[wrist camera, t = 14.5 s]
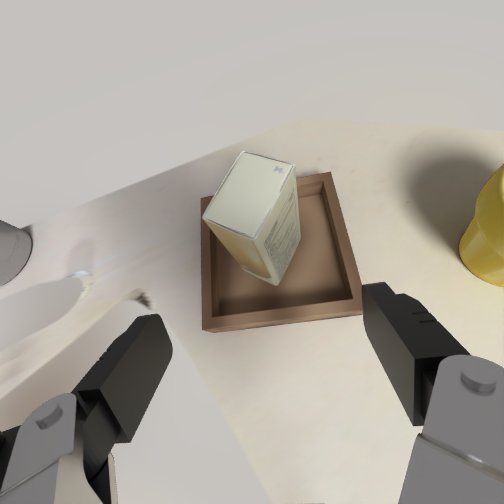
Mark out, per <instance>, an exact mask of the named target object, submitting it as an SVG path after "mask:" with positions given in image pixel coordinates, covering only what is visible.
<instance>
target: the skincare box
mask: <svg viewBox="0 0 504 504" xmlns="http://www.w3.org/2000/svg"><path fill="white" fill-rule="evenodd" d="M202 218H203V220H204V221H205V222H206V223H207V225H208V226H209V227H210V229H211V230H212V231H213V232H214V234H215V235H216V236H217V237H218V239H219V240H220V241H221V242H222V244H223V245H224V246H225V247H226V249H227V250H228V251H229V253H230V254H231V255H232V256H233V257H234V259H235V260H236V261H237V262H238V264H239V265H240V266H241V268H242V269H243V270H244V271H246V272H247V273H249V274H251V275H253V276H255V277H257V278H259V279H262V280H264V281H266V282H268V283H270V284H272V285H275V286H277V285H278V284H279V283H280V281H281V279H282V277H283V275H284V273H285V271H286V269H287V267H288V265H289V263H290V261H291V259H292V257H293V255H294V253H295V250H296V248H297V246H298V244H299V241H300V239H301V234H300V222H299V209H298V196H297V184H296V172H295V165H294V164H293V163H289V162H285V161H282V160H278V159H275V158H271V157H267V156H264V155H260V154H256V153H251V152H247V151H242V152H241V154H240V155H239V157H238V158H237V159H236V161H235V162H234V164H233V165H232V167H231V169H230V170H229V172H228V173H227V175H226V177H225V178H224V180H223V182H222V183H221V185H220V187H219V188H218V190H217V192H216V193H215V195H214V197H213V198H212V200H211V202H210V204H209V205H208V207H207V209H206V211H205V213H204V214H203V216H202Z"/></svg>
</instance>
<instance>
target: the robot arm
mask: <svg viewBox="0 0 504 504" xmlns="http://www.w3.org/2000/svg"><path fill="white" fill-rule="evenodd" d="M30 252H31V238H30V236H29V235H28V233H27V232H25V231H23V230H21V229H19V228H17V227H15V226H12V225H10V224H8V223H6V222H4V221H1V220H0V286H2V285H4V284H5V283H7V282H9V281H10V280H11V279H12V278H14V277H15V276H16V275H17V274H18V273H19V272H20V270H21V269H22V268H23V266H24V265H25V263H26V261H27V260H28V257H29V255H30ZM361 292H362V306H363V321H364V326H365V330H366V333H367V336H368V338H369V340H370V342H371V344H372V346H373V348H374V350H375V352H376V354H377V356H378V358H379V360H380V362H381V364H382V366H383V368H384V370H385V372H386V374H387V376H388V378H389V380H390V382H391V384H392V386H393V387H394V389H395V391H396V393H397V395H398V397H399V399H400V401H401V403H402V405H403V407H404V409H405V411H406V413H407V415H408V417H409V419H410V421H411V423H412V425H413V426H424V427H423V430H422V433H421V434H420V433H418V435H417V437H416V440H415V443H414V446H413V450H412V454H411V457H410V461H409V465H408V469H407V472H406V476H405V480H404V484H403V487H402V491H401V495H400V499H399V502H398V504H504V368H503V367H501V366H499V365H497V364H495V363H494V362H491V361H489V360H486V359H483V358H480V357H476V356H471V355H470V353H469V352H468V351H467V350H466V349H465V348H464V347H463V346H462V345H461V344H460V343H459V342H458V341H457V340H456V339H455V338H454V337H453V336H452V335H451V334H450V333H449V332H448V331H447V330H446V329H445V328H444V327H443V326H442V325H441V324H440V323H439V322H437V320H436V318H435V317H434V316H433V315H432V314H431V313H429V312H428V310H427V309H426V308H425V307H424V306H423V305H422V304H421V303H420V302H419V301H418V300H416V299H414V298H412V297H410V296H408V295H406V294H404V293H403V294H395V293H394V292H393V291H392V289H391V288H390V287H389V286H388V285H387V284H386V283H385V282H379V283H372V284H365V285H362V288H361ZM172 352H173V348H172V343H171V340H170V338H169V336H168V333H167V331H166V328H165V326H164V323H163V321H162V318H161V317H160V315H158V314H151V315H144V316H139V317H137V318H136V319H135V321H134V322H133V323H132V324H131V325H130V327H129V328H128V329H127V330H126V331H125V332H124V333H123V334H122V335H120V336H119V337H118V338H116V339H115V340H114V341H113V343H112V344H111V345H110V346H109V347H108V349H107V351H106V352H104V354H103V355H102V356H101V357H100V358H99V361H97V362H96V363H95V364H94V365H93V367H92V368H91V369H90V370H89V371H88V373H87V374H86V375H85V376H84V377H83V379H82V380H81V381H80V382H79V383H78V385H77V386H76V387H75V388H74V389H73V391H72V392H71V393H65V394H61V395H58V396H56V397H54V398H52V399H50V400H48V401H46V402H45V403H43V404H42V405H41V406H39V407H38V408H37V409H36V410H34V411H33V412H32V413H31V414H30V415H29V416H28V417H27V418H26V419H25V421H24V422H23V423H22V425H20V426H17V427H14V428H12V429H9V430H6V431H4V432H1V431H0V504H118V497H117V488H116V487H117V486H116V476H115V465H114V457H113V455H112V453H111V452H110V451H111V449H112V447H113V446H114V444H115V443H130V442H131V440H132V438H133V436H134V434H135V432H136V430H137V428H138V426H139V424H140V422H141V420H142V418H143V416H144V414H145V411H146V409H147V408H148V405H149V403H150V401H151V399H152V397H153V395H154V393H155V391H156V389H157V387H158V385H159V383H160V381H161V379H162V377H163V375H164V372H165V370H166V369H167V366H168V364H169V362H170V360H171V358H172Z"/></svg>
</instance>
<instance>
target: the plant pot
mask: <svg viewBox="0 0 504 504" xmlns="http://www.w3.org/2000/svg"><path fill="white" fill-rule="evenodd" d="M459 253H460V256H461V259H462V261H463V263H464V264H465V266H466V267H467V268H468V269H469V270H470V271H471V272H472V273H473V274H474V275H476V276H477V277H479V278H480V279H482V280H484V281H486V282H488V283H490V284H493V285H496V286H501V287H504V164H503V165H502V166H501V167H500V168H499V169H498V170H497V171H496V172H495V173H494V175H493V176H492V177H491V178H490V179H489V180H488V182H487V183H486V184H485V185H484V187H483V188H482V190H481V191H480V193H479V195H478V198H477V201H476V206H475V216H474V218H473V219H472V221H471V223H470V224H469V226H468V228H467V230H466V231H465V233H464V234H463V236H462V238H461V240H460V244H459Z"/></svg>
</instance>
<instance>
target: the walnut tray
mask: <svg viewBox="0 0 504 504" xmlns="http://www.w3.org/2000/svg"><path fill="white" fill-rule="evenodd" d="M296 184H297V196H298V209H299V222H300V234H301V239H300V241H299V244H298V246H297V248H296V250H295V253H294V255H293V257H292V259H291V261H290V263H289V265H288V267H287V269H286V271H285V273H284V275H283V277H282V279H281V281H280V283H279V284H278V285H277V286H275V285H272V284H270V283H268V282H266V281H264V280H262V279H259V278H257V277H255V276H253V275H251V274H249V273H247V272H246V271H244V270H243V269H242V268H241V266H240V265H239V264H238V262H237V261H236V260H235V259H234V257H233V256H232V255H231V254H230V253H229V251H228V250H227V249H226V247H225V246H224V245H223V244H222V242H221V241H220V240H219V239H218V237H217V236H216V235H215V234H214V232H213V231H212V230H211V229H210V227H209V226H208V225H207V223H206V222H205V221H204V220H203V218H202V216H203V214H204V213H205V211H206V209H207V207H208V205H209V204H210V202H211V200H212V198H213V197H214V196H209V197H204V198H201V275H202V330H205V331H209V332H212V333H217V332H225V331H233V330H241V329H250V328H258V327H266V326H274V325H282V324H291V323H299V322H307V321H315V320H324V319H332V318H340V317H348V316H357V315H362V314H363V306H362V292H361V288H362V283H361V280H360V276H359V272H358V269H357V265H356V262H355V258H354V254H353V251H352V247H351V244H350V240H349V236H348V233H347V229H346V225H345V222H344V218H343V215H342V211H341V207H340V204H339V200H338V197H337V193H336V189H335V186H334V182H333V179H332V175H331V172H326V173H321V174H316V175H311V176H307V177H302V178H297V179H296Z"/></svg>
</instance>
